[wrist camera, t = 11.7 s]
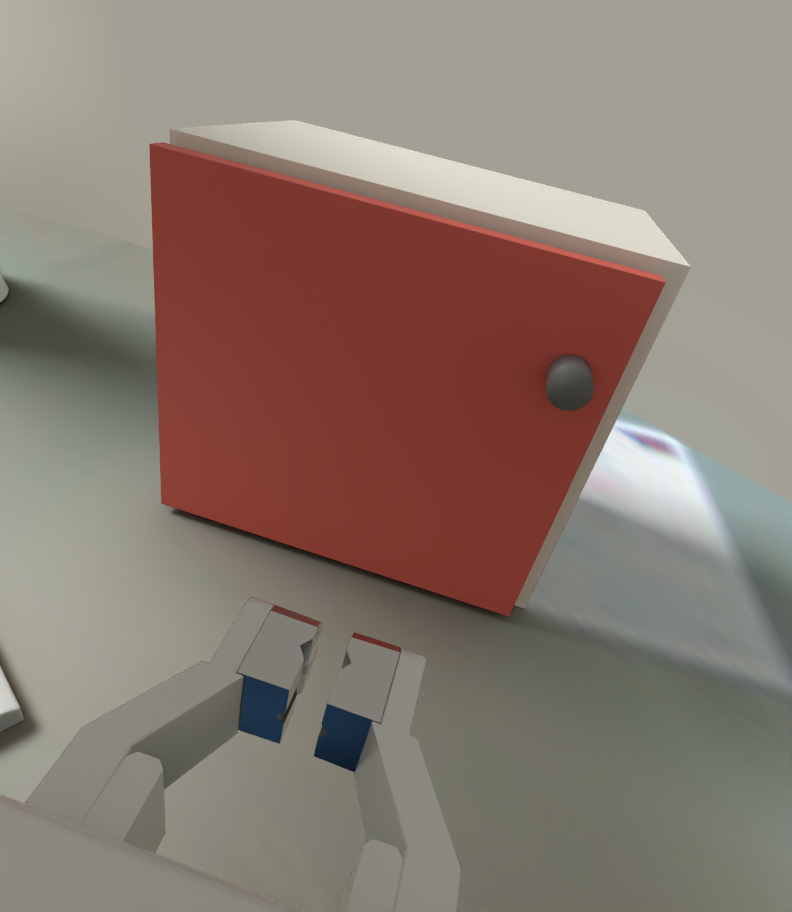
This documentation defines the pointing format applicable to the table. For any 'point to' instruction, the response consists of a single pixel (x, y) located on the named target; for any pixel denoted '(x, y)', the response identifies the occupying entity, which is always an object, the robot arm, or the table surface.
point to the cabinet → (476, 203)
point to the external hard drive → (8, 705)
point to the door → (376, 373)
